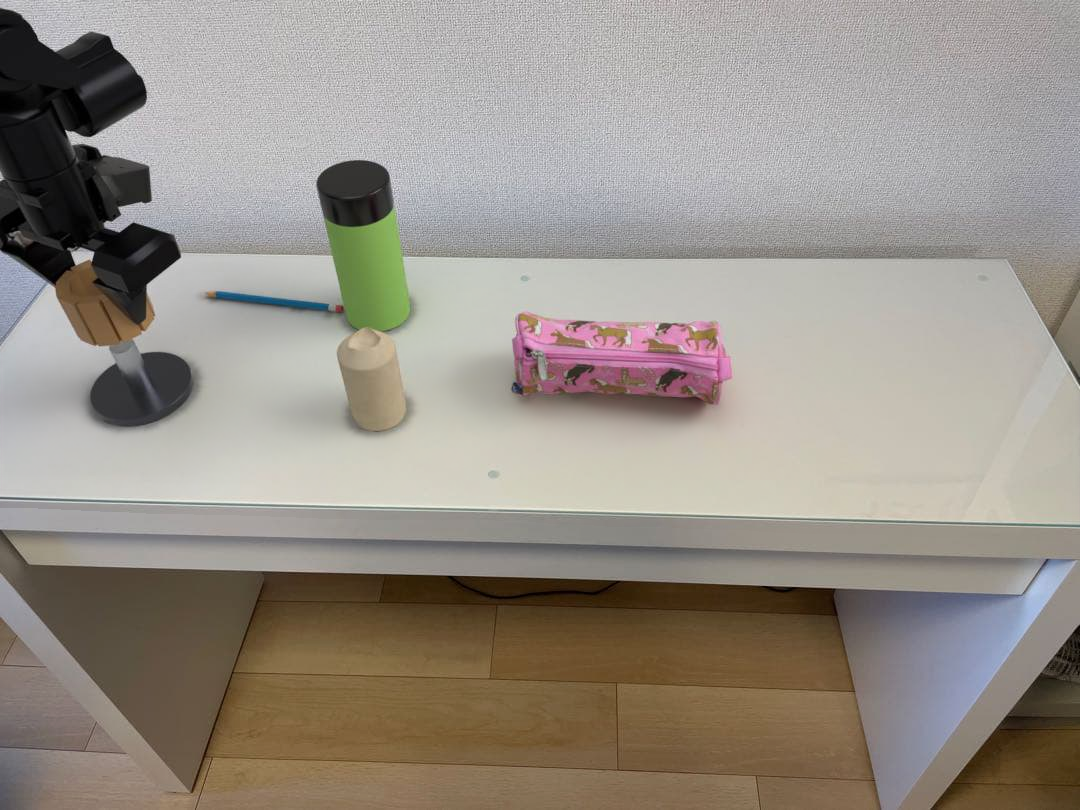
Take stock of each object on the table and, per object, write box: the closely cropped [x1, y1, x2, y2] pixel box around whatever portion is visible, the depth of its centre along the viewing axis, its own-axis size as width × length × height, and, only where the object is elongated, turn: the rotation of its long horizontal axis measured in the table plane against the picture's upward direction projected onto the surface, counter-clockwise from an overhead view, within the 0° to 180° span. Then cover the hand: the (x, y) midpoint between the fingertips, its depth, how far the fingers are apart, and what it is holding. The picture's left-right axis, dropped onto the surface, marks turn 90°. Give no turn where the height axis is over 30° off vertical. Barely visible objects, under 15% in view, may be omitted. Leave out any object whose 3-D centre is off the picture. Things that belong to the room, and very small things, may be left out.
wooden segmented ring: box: [54, 259, 156, 347], centre depth 80 cm, size 7×7×5 cm
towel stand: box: [89, 338, 195, 427], centre depth 87 cm, size 10×10×6 cm
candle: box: [336, 327, 407, 432], centre depth 83 cm, size 6×6×10 cm
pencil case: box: [510, 311, 733, 406], centre depth 85 cm, size 21×9×9 cm, turn 85°
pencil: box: [203, 290, 344, 313], centre depth 98 cm, size 1×17×1 cm, turn 79°
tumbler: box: [315, 159, 411, 332], centre depth 91 cm, size 8×8×17 cm
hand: (111, 310), depth 81 cm, fingers closed on wooden segmented ring, 7 cm apart
